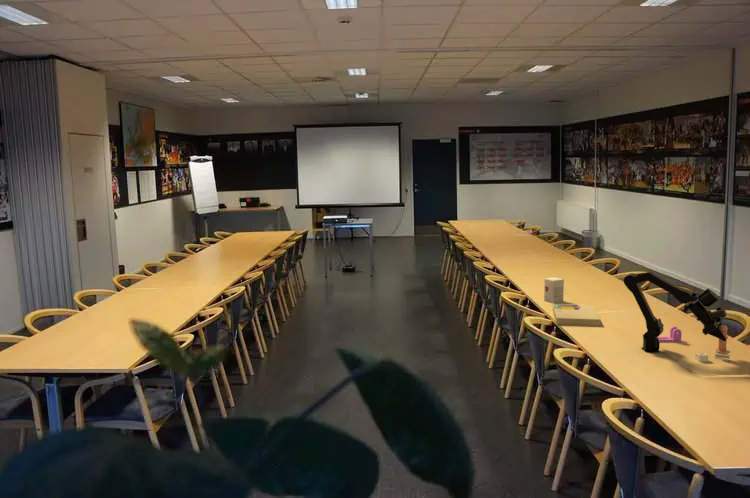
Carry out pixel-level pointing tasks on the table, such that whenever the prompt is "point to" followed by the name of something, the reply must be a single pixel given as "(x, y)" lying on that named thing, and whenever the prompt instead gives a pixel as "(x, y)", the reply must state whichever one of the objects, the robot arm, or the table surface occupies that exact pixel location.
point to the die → (701, 357)
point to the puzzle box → (575, 315)
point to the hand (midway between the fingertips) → (726, 339)
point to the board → (722, 356)
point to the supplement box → (553, 290)
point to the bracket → (672, 336)
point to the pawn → (722, 343)
